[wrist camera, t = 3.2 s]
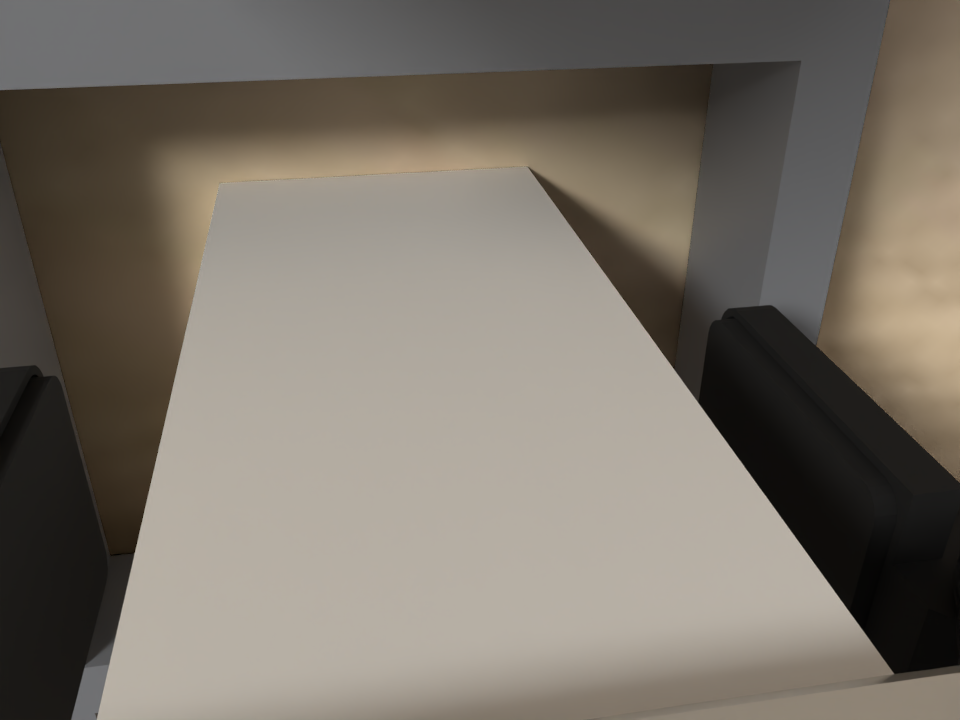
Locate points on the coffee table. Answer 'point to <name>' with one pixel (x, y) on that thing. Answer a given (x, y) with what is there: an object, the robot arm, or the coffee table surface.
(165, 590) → the plug
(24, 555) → the robot arm
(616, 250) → the coffee table surface
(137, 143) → the coffee table surface
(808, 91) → the divided sorting tray
